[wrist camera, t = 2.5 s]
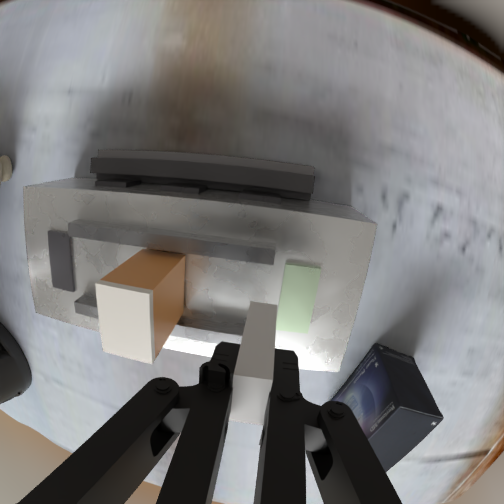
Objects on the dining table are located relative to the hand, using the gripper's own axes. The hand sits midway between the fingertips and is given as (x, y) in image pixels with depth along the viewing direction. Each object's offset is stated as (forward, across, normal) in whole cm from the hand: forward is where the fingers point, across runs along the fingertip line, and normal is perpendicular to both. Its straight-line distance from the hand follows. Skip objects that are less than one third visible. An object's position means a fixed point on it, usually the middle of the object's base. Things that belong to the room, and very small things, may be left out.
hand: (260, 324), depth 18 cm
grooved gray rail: (+12, -7, +7) cm, 16 cm away
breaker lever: (+4, -7, 0) cm, 8 cm away
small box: (+13, +14, -14) cm, 23 cm away
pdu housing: (+12, -7, 0) cm, 14 cm away
